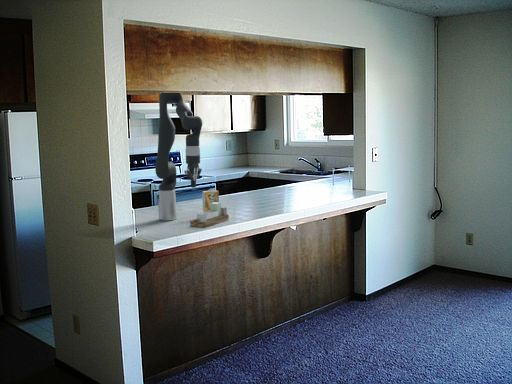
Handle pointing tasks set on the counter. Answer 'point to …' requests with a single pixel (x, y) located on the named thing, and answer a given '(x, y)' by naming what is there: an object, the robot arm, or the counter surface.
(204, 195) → the candy box
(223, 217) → the channel
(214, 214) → the jaw
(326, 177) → the counter surface
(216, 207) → the block
